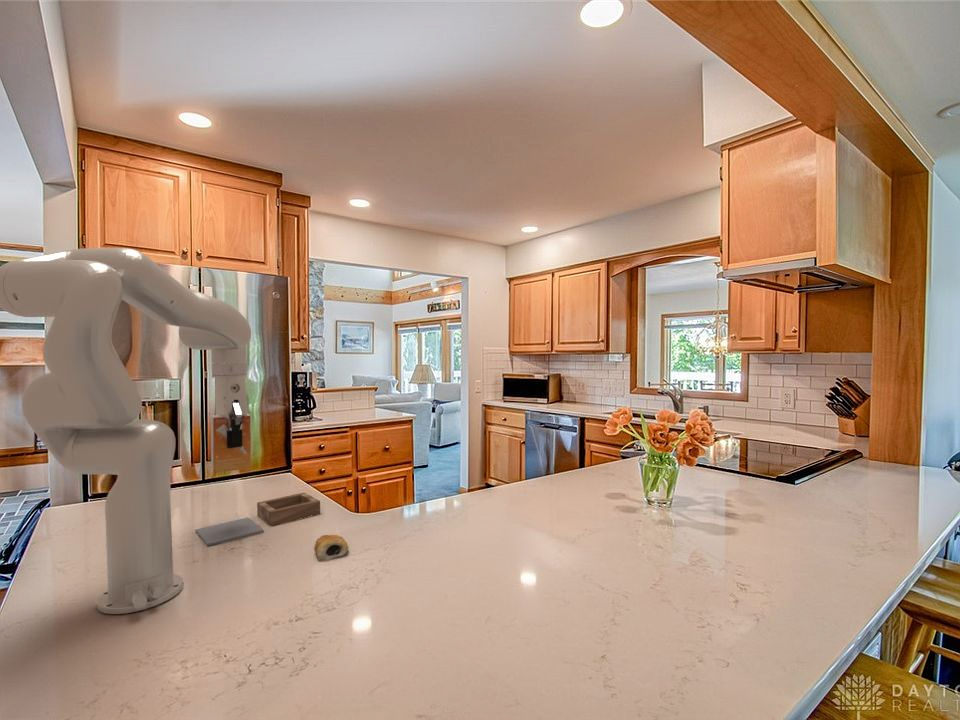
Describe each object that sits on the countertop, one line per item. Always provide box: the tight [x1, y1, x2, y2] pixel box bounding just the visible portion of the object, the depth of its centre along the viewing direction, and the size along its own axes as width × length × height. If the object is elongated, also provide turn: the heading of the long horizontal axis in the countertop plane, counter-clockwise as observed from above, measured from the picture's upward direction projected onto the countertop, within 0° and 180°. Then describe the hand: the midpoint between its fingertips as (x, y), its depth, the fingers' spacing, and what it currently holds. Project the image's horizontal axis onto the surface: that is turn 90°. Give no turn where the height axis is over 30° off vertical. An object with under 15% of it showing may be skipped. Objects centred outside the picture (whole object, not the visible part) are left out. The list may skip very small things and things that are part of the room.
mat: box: [194, 516, 264, 547], centre depth 115 cm, size 12×12×1 cm
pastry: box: [313, 534, 349, 562], centre depth 104 cm, size 9×7×4 cm
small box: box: [210, 412, 252, 474], centre depth 115 cm, size 8×6×13 cm
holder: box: [256, 492, 321, 527], centre depth 127 cm, size 11×13×4 cm
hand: (230, 444), depth 115 cm, fingers closed on small box, 6 cm apart
